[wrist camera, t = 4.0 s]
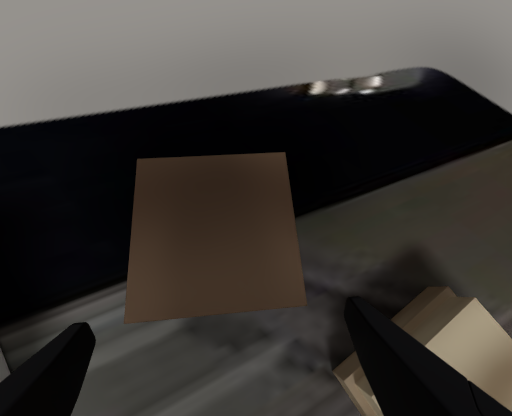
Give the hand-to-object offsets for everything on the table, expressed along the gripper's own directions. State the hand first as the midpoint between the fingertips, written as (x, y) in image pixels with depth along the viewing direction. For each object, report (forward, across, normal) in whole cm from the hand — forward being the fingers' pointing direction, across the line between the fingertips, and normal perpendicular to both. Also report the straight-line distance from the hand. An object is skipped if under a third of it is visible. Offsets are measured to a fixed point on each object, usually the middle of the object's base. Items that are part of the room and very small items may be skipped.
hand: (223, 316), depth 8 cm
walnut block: (+9, 0, +5) cm, 10 cm away
